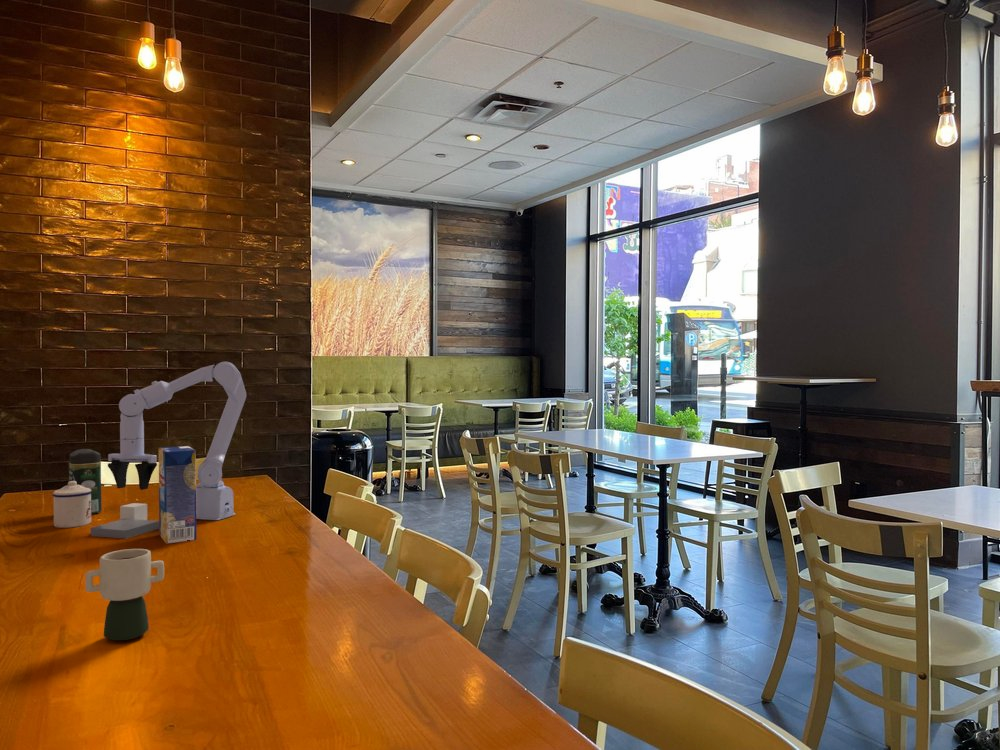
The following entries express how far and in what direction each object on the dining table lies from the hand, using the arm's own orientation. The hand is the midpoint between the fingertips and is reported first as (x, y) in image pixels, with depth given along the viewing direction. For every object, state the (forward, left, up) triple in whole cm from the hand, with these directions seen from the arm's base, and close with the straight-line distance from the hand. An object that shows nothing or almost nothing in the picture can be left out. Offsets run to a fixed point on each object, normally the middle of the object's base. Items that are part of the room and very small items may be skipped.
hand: (132, 488), depth 190 cm
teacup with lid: (+16, +5, -10) cm, 19 cm away
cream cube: (0, 0, -10) cm, 10 cm away
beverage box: (-23, +10, -10) cm, 27 cm away
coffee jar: (+24, -7, -10) cm, 27 cm away
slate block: (-6, +9, -10) cm, 15 cm away
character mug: (-62, +66, -10) cm, 91 cm away
